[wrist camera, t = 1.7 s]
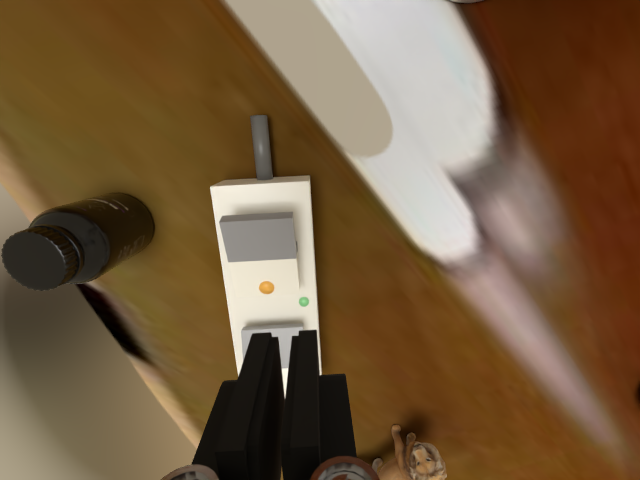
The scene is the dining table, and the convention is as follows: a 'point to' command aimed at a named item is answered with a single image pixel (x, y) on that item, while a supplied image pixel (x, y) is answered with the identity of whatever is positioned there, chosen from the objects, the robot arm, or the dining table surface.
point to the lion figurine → (411, 460)
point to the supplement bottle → (77, 241)
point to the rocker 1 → (261, 253)
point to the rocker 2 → (284, 336)
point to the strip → (295, 198)
